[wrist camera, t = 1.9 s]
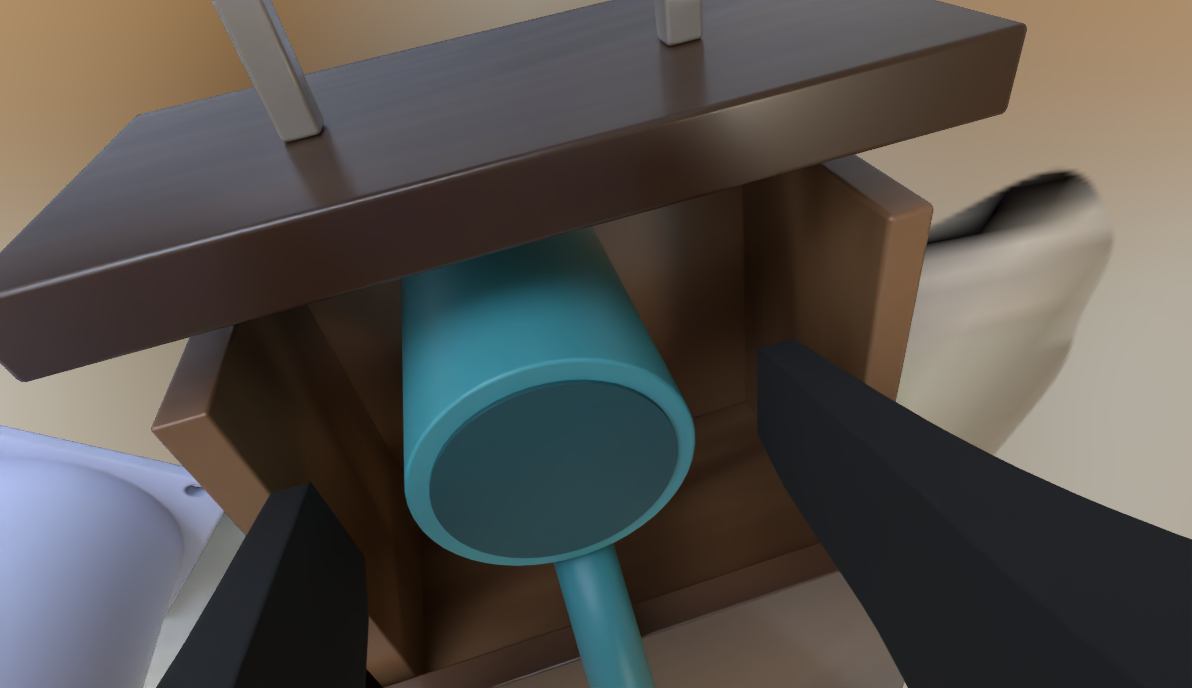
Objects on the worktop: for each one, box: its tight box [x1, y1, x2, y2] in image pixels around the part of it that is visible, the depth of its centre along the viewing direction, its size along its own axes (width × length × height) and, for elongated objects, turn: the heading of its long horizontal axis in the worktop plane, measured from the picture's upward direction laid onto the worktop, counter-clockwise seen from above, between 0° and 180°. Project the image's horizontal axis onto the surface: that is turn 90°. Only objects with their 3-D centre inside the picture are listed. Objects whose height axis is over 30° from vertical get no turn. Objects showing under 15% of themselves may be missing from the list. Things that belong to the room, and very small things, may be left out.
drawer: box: [0, 0, 1027, 687], centre depth 13 cm, size 17×13×7 cm
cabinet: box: [365, 542, 905, 688], centre depth 21 cm, size 14×15×9 cm
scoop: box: [401, 227, 695, 688], centre depth 13 cm, size 9×5×10 cm, turn 9°
